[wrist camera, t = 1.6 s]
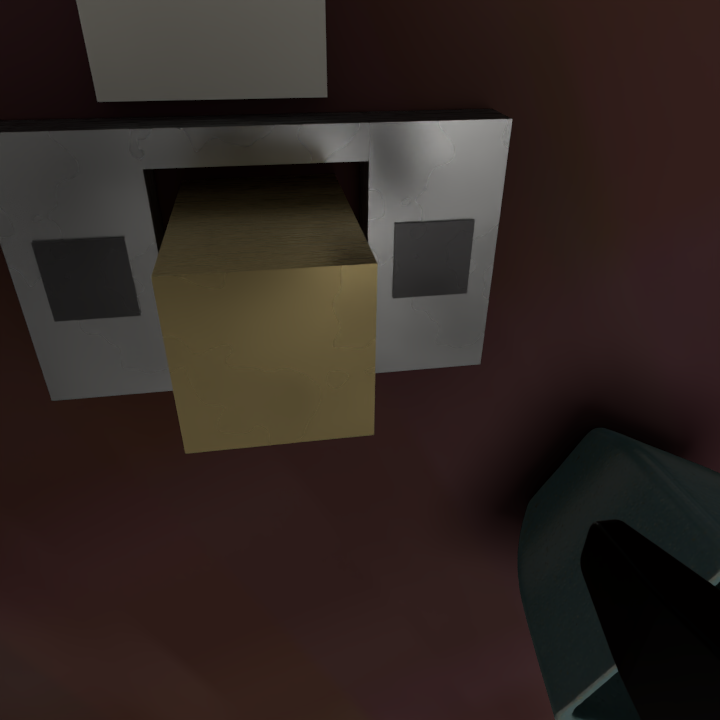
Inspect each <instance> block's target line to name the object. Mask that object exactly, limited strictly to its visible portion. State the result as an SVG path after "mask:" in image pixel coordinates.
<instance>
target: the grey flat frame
mask: <svg viewBox="0 0 720 720" xmlns="http://www.w3.org/2000/svg"><path fill="white" fill-rule="evenodd" d="M511 126H512V118H510V117H508V116H506V115H504V114H502V113H500V112H498V111H496V110H494V109H460V110H419V111H377V112H336V113H295V114H253V115H212V116H171V117H129V118H88V119H47V120H5V121H0V244H1V247H2V250H3V253H4V256H5V259H6V262H7V265H8V268H9V271H10V274H11V277H12V280H13V284H14V287H15V290H16V293H17V296H18V299H19V302H20V305H21V308H22V311H23V314H24V317H25V320H26V323H27V326H28V329H29V332H30V335H31V338H32V342H33V345H34V348H35V351H36V354H37V357H38V360H39V363H40V366H41V369H42V372H43V375H44V378H45V381H46V384H47V387H48V390H49V393H50V396H51V400H52V401H56V400H68V399H79V398H91V397H103V396H114V395H126V394H138V393H149V392H161V391H173V387H172V382H171V377H170V372H169V367H168V362H167V357H166V351H165V346H164V341H163V336H162V331H161V326H160V321H159V315H158V310H157V305H156V300H155V295H154V290H153V284H152V279H151V276H152V273H153V269H154V266H155V263H156V260H157V257H158V254H159V251H160V247H161V244H162V241H163V238H164V235H165V234H164V228H163V223H162V217H161V211H160V205H159V200H158V194H157V188H156V182H155V177H154V171H153V169H162V168H190V167H218V166H246V165H274V164H302V163H330V162H358V161H360V178H359V226H360V228H361V230H362V232H363V234H364V236H365V238H366V240H367V242H368V244H369V247H370V249H371V251H372V253H373V255H374V257H375V259H376V261H377V263H378V266H377V313H376V360H375V373H382V372H394V371H406V370H417V369H429V368H441V367H452V366H464V365H476V364H480V362H481V355H482V347H483V340H484V332H485V324H486V317H487V309H488V301H489V294H490V286H491V279H492V271H493V263H494V256H495V248H496V240H497V233H498V225H499V218H500V210H501V202H502V195H503V187H504V179H505V172H506V164H507V157H508V149H509V141H510V134H511Z"/></svg>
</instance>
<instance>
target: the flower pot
mask: <svg viewBox="0 0 720 720" xmlns="http://www.w3.org/2000/svg"><path fill="white" fill-rule="evenodd" d="M611 519H617V520H621V521H623V522H625V523H626V524H628V525H629V526H630V527H632V528H633V529H635V530H636V531H637V532H639V533H640V534H642V535H643V536H645V537H646V538H647V539H649V540H650V541H652V542H653V543H655V544H656V545H657V546H659V547H660V548H662V549H663V550H664V551H666V552H667V553H669V554H670V555H672V556H673V557H674V558H676V559H677V560H679V561H680V562H682V563H683V564H684V565H686V566H687V567H689V568H690V569H691V570H693V571H694V572H696V573H697V574H699V575H700V576H701V577H703V578H704V579H706V580H707V581H709V582H710V583H711V584H713V585H714V586H716V587H717V588H718V589H720V473H718V472H715V471H713V470H711V469H709V468H706V467H704V466H702V465H699V464H696V463H694V462H691V461H689V460H686V459H683V458H681V457H678V456H676V455H673V454H670V453H668V452H665V451H663V450H660V449H658V448H655V447H652V446H650V445H647V444H645V443H642V442H640V441H637V440H635V439H632V438H630V437H628V436H625V435H623V434H620V433H617V432H615V431H612V430H609V429H606V428H595V429H593V430H591V431H590V432H589V433H588V434H587V435H586V436H585V437H584V438H583V439H582V440H581V442H580V443H579V444H578V445H577V446H576V448H575V449H574V450H573V451H572V452H571V453H570V455H569V456H568V457H567V458H566V459H565V461H564V462H563V463H562V464H561V465H560V467H559V468H558V469H557V470H556V471H555V472H554V473H553V475H552V476H551V477H550V478H549V479H548V480H547V481H546V482H545V484H544V485H543V486H542V487H541V488H540V489H539V491H538V492H537V493H536V494H535V495H534V496H533V498H532V499H531V500H530V501H529V503H528V505H527V508H526V512H525V516H524V519H523V523H522V528H521V532H520V538H519V547H518V578H519V588H520V594H521V599H522V603H523V607H524V611H525V615H526V619H527V623H528V627H529V630H530V634H531V637H532V641H533V645H534V648H535V652H536V655H537V659H538V662H539V666H540V669H541V673H542V676H543V679H544V683H545V686H546V689H547V693H548V696H549V700H550V703H551V707H552V710H553V714H554V717H555V720H641V719H640V717H639V714H638V712H637V710H636V708H635V706H634V704H633V702H632V700H631V698H630V696H629V694H628V692H627V689H626V687H625V685H624V683H623V681H622V679H621V676H620V674H619V672H618V670H617V667H616V665H615V662H614V659H613V657H612V654H611V652H610V649H609V646H608V643H607V641H606V638H605V635H604V632H603V630H602V627H601V624H600V621H599V618H598V616H597V613H596V610H595V607H594V605H593V602H592V599H591V596H590V594H589V591H588V588H587V585H586V583H585V580H584V577H583V574H582V571H581V566H580V558H581V553H582V550H583V547H584V544H585V540H586V537H587V534H588V531H589V528H590V525H591V524H592V523H593V522H596V521H602V520H611Z"/></svg>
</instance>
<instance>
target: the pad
mask: <svg viewBox="0 0 720 720" xmlns="http://www.w3.org/2000/svg"><path fill="white" fill-rule="evenodd" d="M76 3H77V7H78V12H79V17H80V22H81V26H82V31H83V36H84V41H85V45H86V50H87V55H88V60H89V64H90V69H91V74H92V79H93V83H94V88H95V93H96V98H97V102H119V101H168V100H217V99H265V98H314V97H327V60H326V15H325V0H76Z"/></svg>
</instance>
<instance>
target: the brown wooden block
mask: <svg viewBox="0 0 720 720" xmlns="http://www.w3.org/2000/svg"><path fill="white" fill-rule="evenodd" d="M377 266H378V263H377V261H376V259H375V257H374V255H373V253H372V251H371V249H370V247H369V244H368V242H367V240H366V238H365V236H364V234H363V232H362V230H361V228H360V226H359V224H358V221H357V219H356V217H355V215H354V213H353V211H352V209H351V207H350V205H349V203H348V200H347V198H346V196H345V194H344V192H343V190H342V188H341V186H340V184H339V182H338V180H337V177H336V175H335V174H318V175H292V176H266V177H240V178H214V179H189V180H182V181H181V185H180V188H179V191H178V194H177V197H176V200H175V203H174V207H173V210H172V213H171V216H170V219H169V222H168V225H167V229H166V232H165V235H164V238H163V241H162V244H161V247H160V251H159V254H158V257H157V260H156V263H155V266H154V269H153V273H152V276H151V279H152V284H153V290H154V295H155V300H156V305H157V310H158V315H159V321H160V326H161V331H162V336H163V341H164V346H165V351H166V357H167V362H168V367H169V372H170V377H171V382H172V387H173V393H174V398H175V403H176V408H177V413H178V418H179V423H180V429H181V434H182V439H183V444H184V449H185V454H187V453H197V452H207V451H217V450H227V449H237V448H247V447H257V446H267V445H277V444H287V443H297V442H307V441H317V440H327V439H337V438H347V437H357V436H367V435H374V406H375V360H376V313H377Z"/></svg>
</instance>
